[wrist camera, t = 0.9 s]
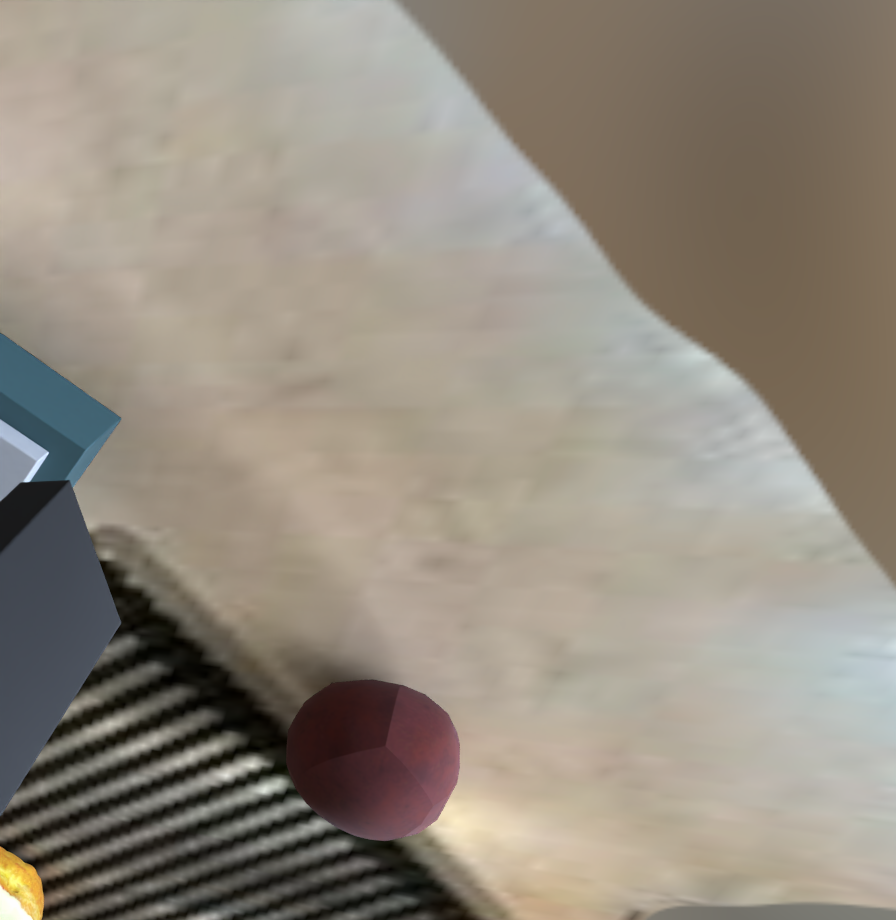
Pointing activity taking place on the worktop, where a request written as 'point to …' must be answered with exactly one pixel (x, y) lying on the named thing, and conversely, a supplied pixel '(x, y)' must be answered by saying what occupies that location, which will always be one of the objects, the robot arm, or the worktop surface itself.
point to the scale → (45, 422)
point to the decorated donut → (19, 889)
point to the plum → (374, 758)
